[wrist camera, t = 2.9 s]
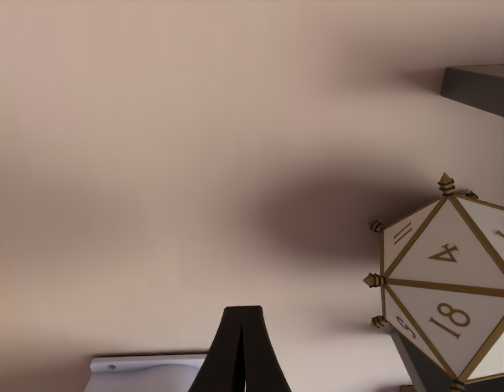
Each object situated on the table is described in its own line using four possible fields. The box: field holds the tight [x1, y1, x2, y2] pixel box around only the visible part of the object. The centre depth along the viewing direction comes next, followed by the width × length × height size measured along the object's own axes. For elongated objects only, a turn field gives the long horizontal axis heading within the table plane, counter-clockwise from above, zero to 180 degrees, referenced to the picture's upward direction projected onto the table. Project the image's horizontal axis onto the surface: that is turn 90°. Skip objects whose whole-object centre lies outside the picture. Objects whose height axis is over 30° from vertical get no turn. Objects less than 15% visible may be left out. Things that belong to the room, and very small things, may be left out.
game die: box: [362, 173, 504, 392], centre depth 14 cm, size 9×8×10 cm
